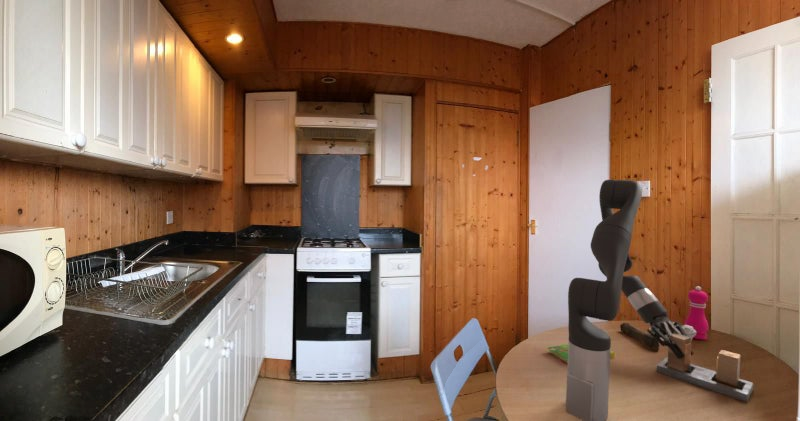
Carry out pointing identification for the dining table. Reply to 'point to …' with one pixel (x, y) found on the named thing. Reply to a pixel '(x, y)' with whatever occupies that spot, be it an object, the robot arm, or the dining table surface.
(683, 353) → the robot arm
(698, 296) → the pepper mill
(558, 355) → the game box
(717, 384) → the gray block holder
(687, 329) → the crumpled paper ball
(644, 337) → the dark brown stick
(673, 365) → the tan wooden block
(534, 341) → the dining table surface
